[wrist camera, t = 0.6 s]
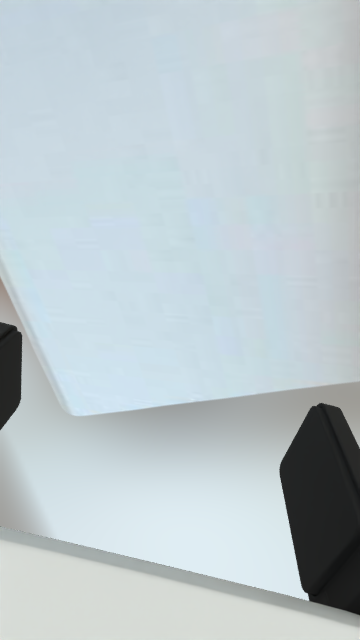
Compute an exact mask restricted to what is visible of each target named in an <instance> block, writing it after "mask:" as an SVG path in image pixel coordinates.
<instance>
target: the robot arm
mask: <svg viewBox="0 0 360 640" xmlns="http://www.w3.org/2000/svg"><path fill="white" fill-rule="evenodd" d="M21 362H22V334H21V332H18V331H17V327H16V326H13V325H9V324H5V323H1V322H0V430H1V429H2V427H3V426H4V425H5V424H6V422H7V421H8V420H9V418H10V417H11V416H12V414H13V413H14V412H15V411H16V409H17V407H18V405H19V403H20V400H21V367H22V366H21V365H22V363H21ZM280 478H281V483H282V489H283V494H284V499H285V504H286V509H287V514H288V519H289V524H290V529H291V535H292V540H293V545H294V550H295V555H296V560H297V565H298V570H299V576H300V581H301V585H302V588H303V590H304V592H306V593H308V596H309V601H306V600H303V599H299V598H295V597H292V596H288V595H284V594H280V593H276V592H272V591H267V590H264V589H259V588H256V587H251V586H247V585H243V584H239V583H235V582H231V581H227V580H223V579H218V578H215V577H211V576H207V575H203V574H198V573H194V572H190V571H186V570H182V569H178V568H174V567H170V566H165V565H161V564H157V563H153V562H149V561H144V560H140V559H136V558H132V557H128V556H124V555H120V554H115V553H111V552H107V551H103V550H99V549H94V548H90V547H86V546H81V545H78V544H73V543H69V542H65V541H61V540H56V539H52V538H48V537H43V536H39V535H35V534H31V533H26V532H22V531H18V530H13V529H9V528H5V527H1V526H0V640H360V449H359V446H358V444H357V442H356V440H355V438H354V436H353V434H352V432H351V430H350V427H349V425H348V423H347V421H346V419H345V417H344V415H343V413H342V411H341V409H340V408H338V407H335V406H331V405H327V404H323V403H320V404H318V405H317V406H312V408H311V409H310V410H309V412H308V414H307V416H306V417H305V419H304V421H303V423H302V425H301V427H300V428H299V431H298V432H297V434H296V436H295V438H294V439H293V441H292V443H291V445H290V447H289V449H288V451H287V452H286V454H285V456H284V458H283V460H282V462H281V464H280Z"/></svg>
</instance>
